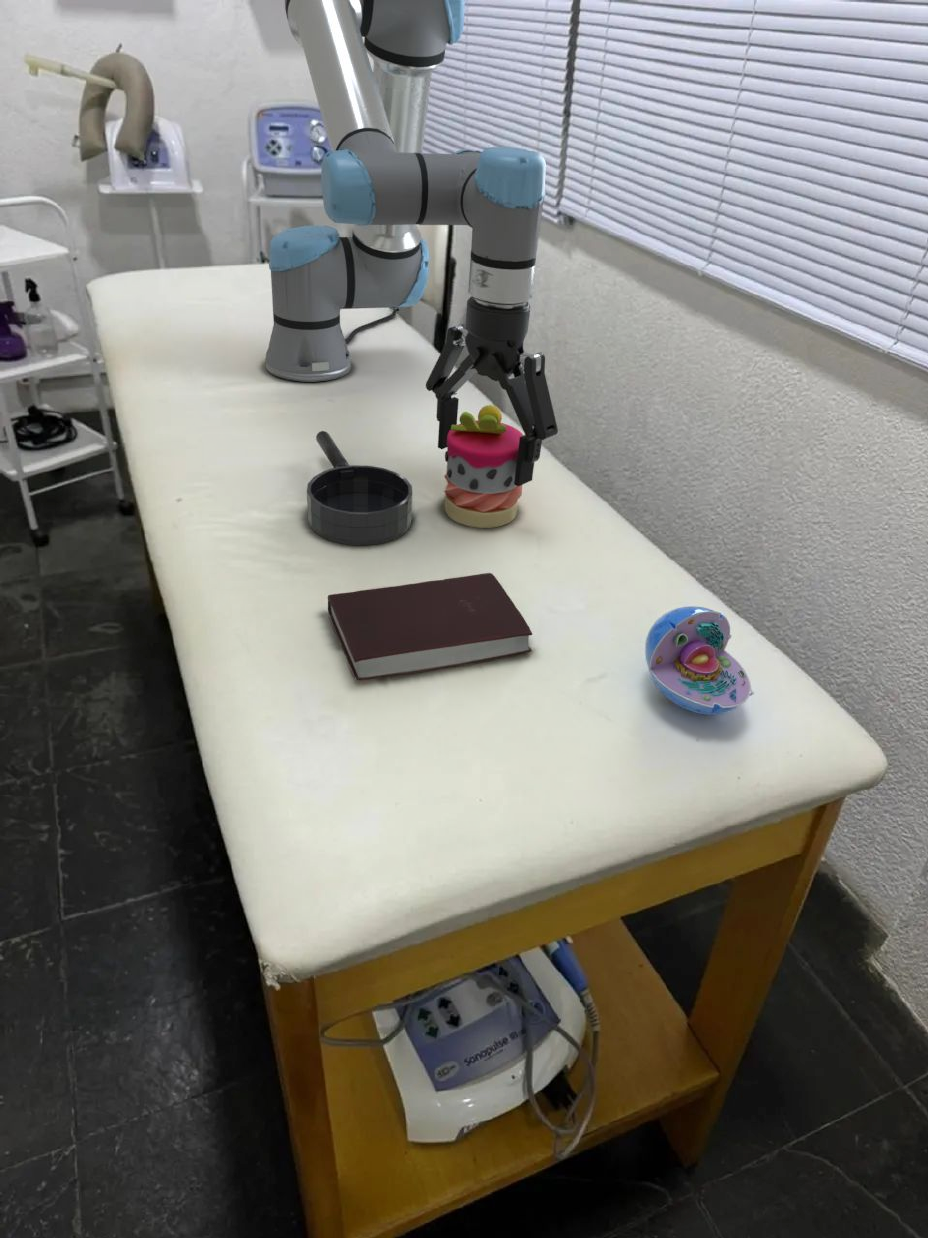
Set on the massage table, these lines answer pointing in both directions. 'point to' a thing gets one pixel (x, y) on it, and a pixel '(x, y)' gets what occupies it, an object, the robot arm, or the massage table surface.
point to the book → (427, 626)
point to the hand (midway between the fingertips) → (483, 463)
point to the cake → (482, 470)
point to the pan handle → (333, 454)
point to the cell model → (696, 661)
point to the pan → (359, 505)
